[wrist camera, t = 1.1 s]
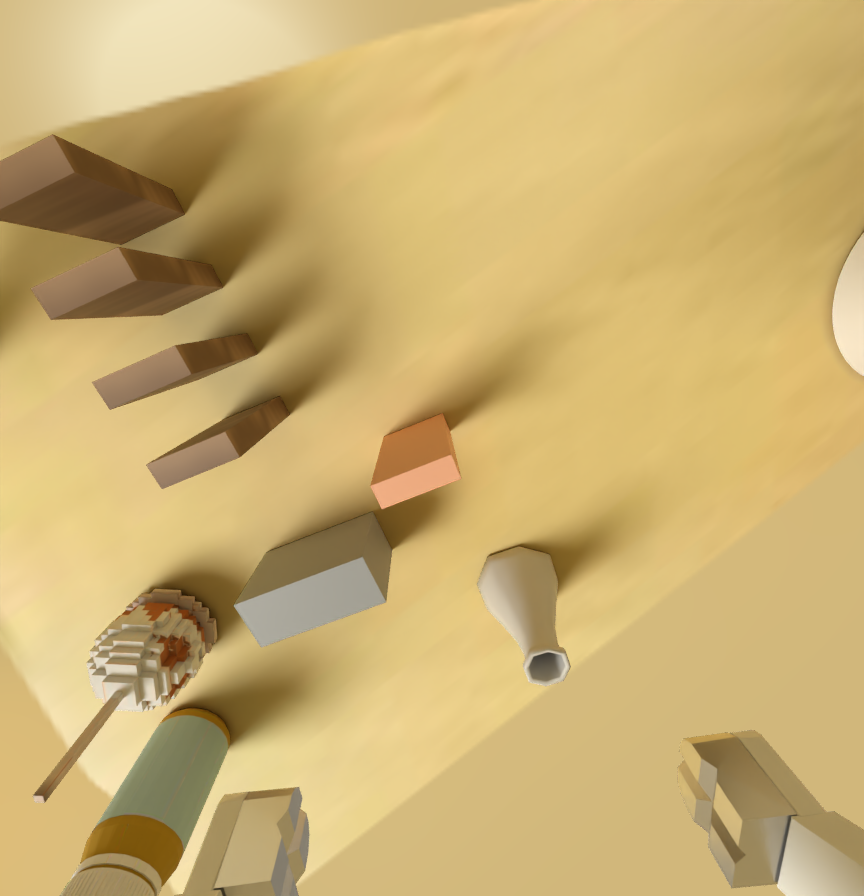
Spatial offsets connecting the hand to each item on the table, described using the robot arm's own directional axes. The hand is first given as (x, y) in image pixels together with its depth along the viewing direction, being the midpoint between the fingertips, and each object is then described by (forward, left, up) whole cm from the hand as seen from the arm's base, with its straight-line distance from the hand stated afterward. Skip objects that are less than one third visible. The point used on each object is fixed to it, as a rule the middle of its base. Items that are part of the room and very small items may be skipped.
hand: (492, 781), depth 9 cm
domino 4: (+13, -7, -27) cm, 30 cm away
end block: (+13, +6, -27) cm, 30 cm away
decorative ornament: (+29, +7, -27) cm, 40 cm away
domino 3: (+13, -12, -27) cm, 32 cm away
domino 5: (+2, -1, -27) cm, 27 cm away
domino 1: (+13, -22, -27) cm, 37 cm away
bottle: (+34, +19, -27) cm, 47 cm away
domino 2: (+13, -17, -27) cm, 34 cm away
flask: (-1, +15, -27) cm, 31 cm away
